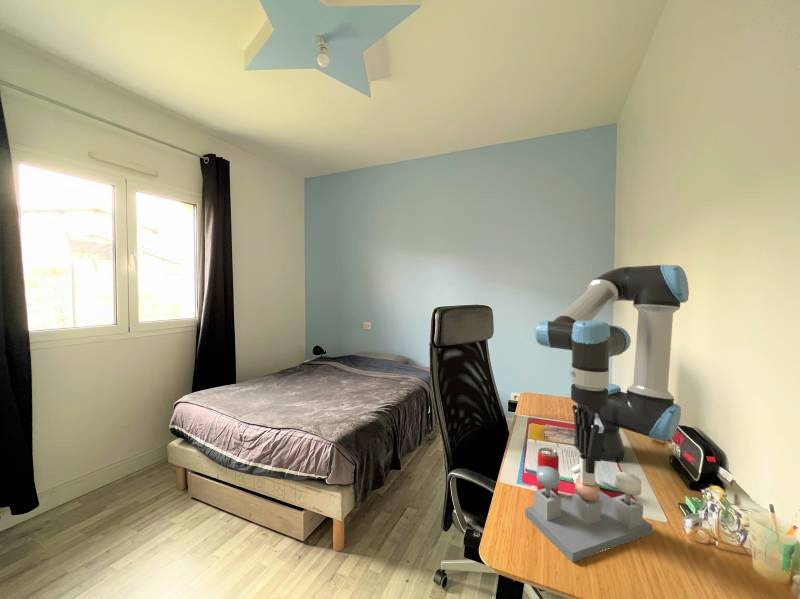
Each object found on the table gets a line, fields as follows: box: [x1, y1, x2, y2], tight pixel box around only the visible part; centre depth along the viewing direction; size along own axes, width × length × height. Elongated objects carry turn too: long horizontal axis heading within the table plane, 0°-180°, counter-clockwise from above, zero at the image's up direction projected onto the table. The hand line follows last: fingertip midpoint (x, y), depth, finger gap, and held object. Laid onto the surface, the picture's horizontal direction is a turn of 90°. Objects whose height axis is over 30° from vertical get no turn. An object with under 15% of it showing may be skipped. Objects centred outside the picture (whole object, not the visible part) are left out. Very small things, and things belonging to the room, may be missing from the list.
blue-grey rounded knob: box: [536, 466, 560, 498], centre depth 76 cm, size 5×5×7 cm
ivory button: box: [614, 471, 642, 506], centre depth 73 cm, size 5×5×7 cm
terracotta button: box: [574, 478, 600, 502], centre depth 75 cm, size 5×5×7 cm
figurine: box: [570, 461, 598, 484], centre depth 90 cm, size 8×8×12 cm
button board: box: [524, 488, 653, 563], centre depth 75 cm, size 24×14×6 cm, turn 108°
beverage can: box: [536, 447, 560, 496], centre depth 85 cm, size 5×5×12 cm
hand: (587, 482), depth 74 cm, fingers closed
